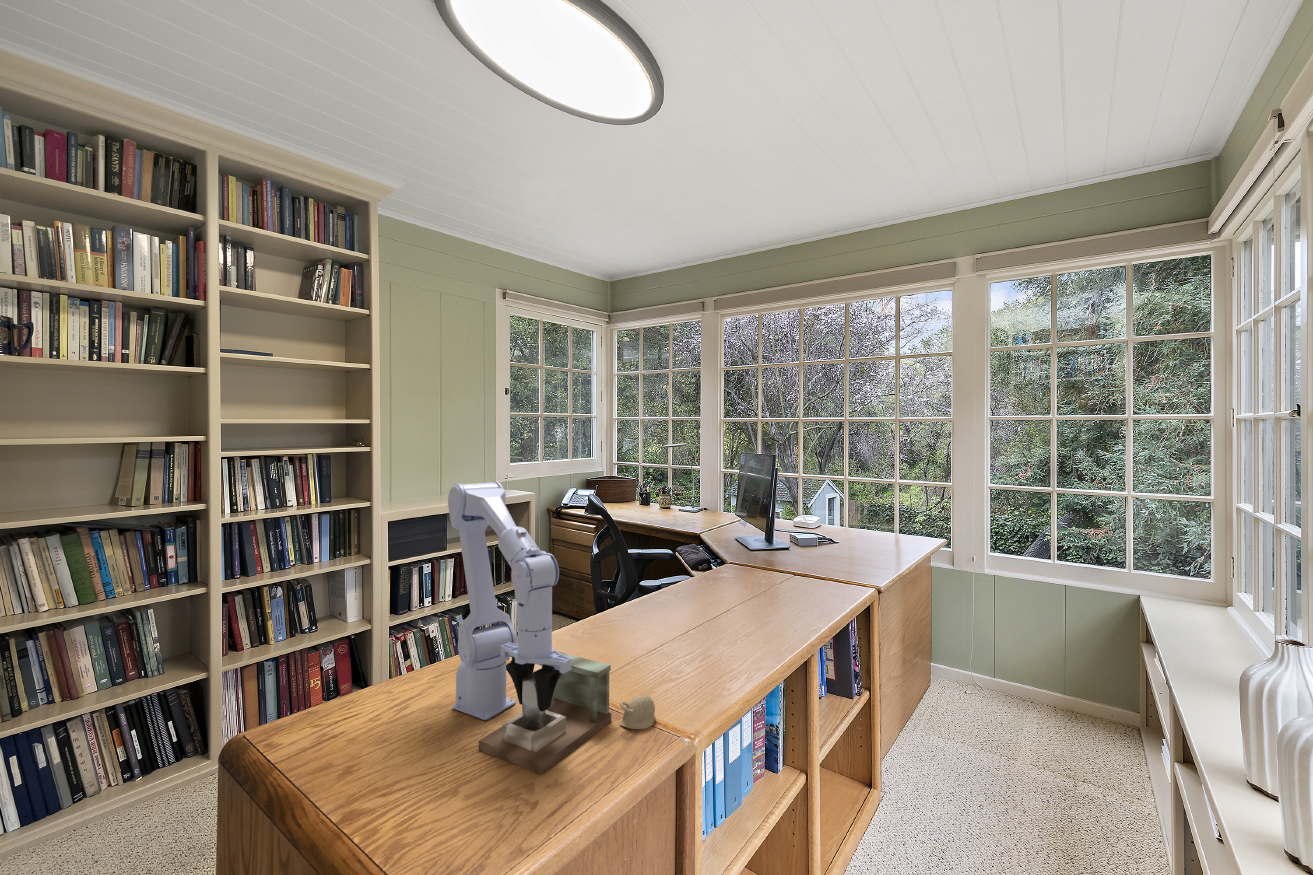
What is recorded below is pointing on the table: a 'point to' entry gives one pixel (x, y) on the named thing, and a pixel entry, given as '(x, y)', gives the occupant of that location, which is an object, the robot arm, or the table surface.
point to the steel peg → (531, 705)
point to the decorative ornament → (638, 713)
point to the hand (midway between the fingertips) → (534, 705)
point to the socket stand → (557, 720)
